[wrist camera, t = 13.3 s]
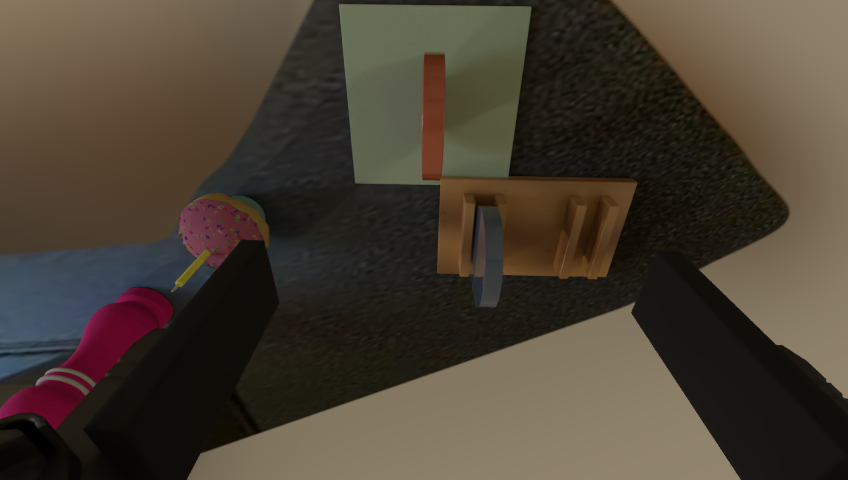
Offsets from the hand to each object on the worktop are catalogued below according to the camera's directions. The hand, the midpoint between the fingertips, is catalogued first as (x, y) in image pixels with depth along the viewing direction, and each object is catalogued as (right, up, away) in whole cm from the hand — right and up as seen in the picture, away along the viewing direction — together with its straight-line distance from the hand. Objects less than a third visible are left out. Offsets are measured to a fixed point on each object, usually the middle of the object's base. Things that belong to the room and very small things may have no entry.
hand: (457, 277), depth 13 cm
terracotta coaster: (0, +11, +18) cm, 21 cm away
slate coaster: (+5, 0, +24) cm, 24 cm away
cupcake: (-21, +4, +29) cm, 36 cm away
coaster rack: (+11, +3, +29) cm, 31 cm away
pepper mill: (-38, -7, +36) cm, 53 cm away
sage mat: (0, +14, +22) cm, 27 cm away
